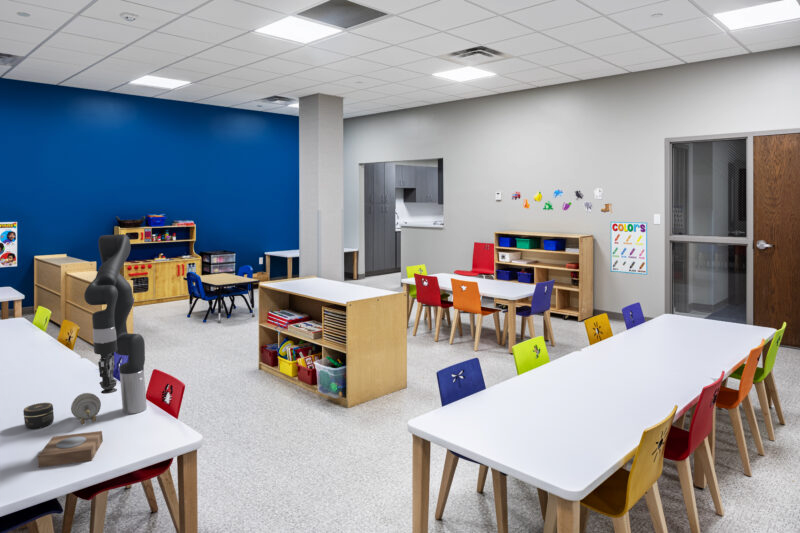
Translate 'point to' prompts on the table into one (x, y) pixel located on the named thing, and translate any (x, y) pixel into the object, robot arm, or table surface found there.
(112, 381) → the stone chess piece
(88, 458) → the walnut plinth
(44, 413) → the jar
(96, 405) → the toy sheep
